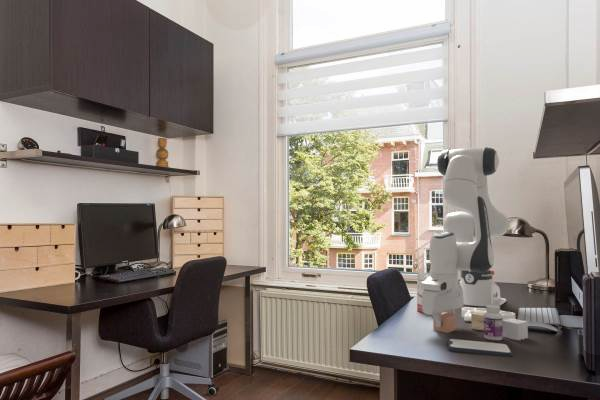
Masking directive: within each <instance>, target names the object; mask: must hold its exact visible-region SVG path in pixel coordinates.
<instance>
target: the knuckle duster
mask: <svg viewBox="0 0 600 400" xmlns="http://www.w3.org/2000/svg"><path fill="white" fill-rule="evenodd" d="M474 311H480V312H487V311H486V307H469V306H465V307H464V306H463V307H461V318H463V321H464V322H469V323H470V322H471V314H472V313H473V312H474ZM499 313H501V314H502V316H503V320H507V319H516V313H515V312H511V311H506V310H501V309H500V312H499Z"/></svg>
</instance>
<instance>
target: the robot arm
mask: <svg viewBox="0 0 600 400" xmlns="http://www.w3.org/2000/svg"><path fill="white" fill-rule="evenodd" d="M499 163H500V159H499V155H498V153H497V151H496V150H495V148H491V147H487V146H486V147H473V146H472V147H461V148H453V149H450V148H448V149H444V150H441V152H440V153H438V157H437V161H436V166H437V170H438V173H440V174H441V175H442V176H444V182H443V191H442V192H443V198H444V200H445V201H446V203H447V204H448V205H449V206H451V207H452V208H454V209H455V210H457V211H454V212H453V211H452V212H448V213H447V214H446V215H445V216H444V218H443V222H442V226H443V229H444V231H437V232H435V233H433V234H432V235H431V236H430V243H429V253H428V254H429V255H428V258H429V264H430V269H429V273H430V276H427V277H428V278H427V279H426V280H425V281H423V282H422V283H421V288H422V289H425V290H423V292H422V310H423V312H424V313H423V314H424V315H428V316H432V318H433V317H434V319H435V325H436V327H441V326H443V321H441V317H440V316H441V313H443V312H444V313H449V314H455V313H456V310H457V309H460V308H461V309H462V308H464V305H465V306H472V307H486V305H496V306H499V307H501V306H502V305H503V304H504V303H506V302H507V299H506V298H503V297H501V289H500V287H499V286H498V284H497V283H496V282H495V281H494V279H493V276H494V275H495V270H494V269H492V268H493V266H494V261H495V258H494V257H495V256H494V255H495V254H494V251H493V245H492V239H491V238H495V237H500V236H501V237H502V236H504V235H505V234H507V232H508V230H509V228H510V227H509V226H510V223H509V219H508V217H507V215H506V214H505V213H503V212H502V211H500V210H499V209H497V208H496V207H495V205H493V204H492V202H491V199H490V196H489V195H490V194H489V188H488V177H487V176H491V175H494V174H495V173H496V172H497V169H498V168H499ZM474 238H475V240H474ZM458 271H460V278H461V279H460V280H459V272H458ZM455 315H456V314H455Z"/></svg>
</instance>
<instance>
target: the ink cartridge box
mask: <svg viewBox="0 0 600 400" xmlns="http://www.w3.org/2000/svg"><path fill="white" fill-rule="evenodd" d="M425 276H426V277H425ZM429 276H430V272H422V273H421V272H418V273H417V281H416V297H417V298H416V307H417V308H416V311H418V312H419V313H423V314H424V312H423V310H422V292H423V290H425V289H422V288H421V283H422V282H423V281H425V280H426V279H427V278H428V277H429Z"/></svg>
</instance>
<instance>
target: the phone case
mask: <svg viewBox="0 0 600 400" xmlns="http://www.w3.org/2000/svg"><path fill="white" fill-rule="evenodd" d="M447 345H448V351H449V352H451V353H453V352H454V353H462V354H463V353H464V354H472V355H485V356H486V355H487V356H495V355H499V356H498V357H507V356H511V357H513V351H512V350H511V348H510V346H509V345H508V344H505V343H499V342H497V343H496V342H486V341H477V340H476V341H475V340H466V339H455V338H449V339H447Z"/></svg>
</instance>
